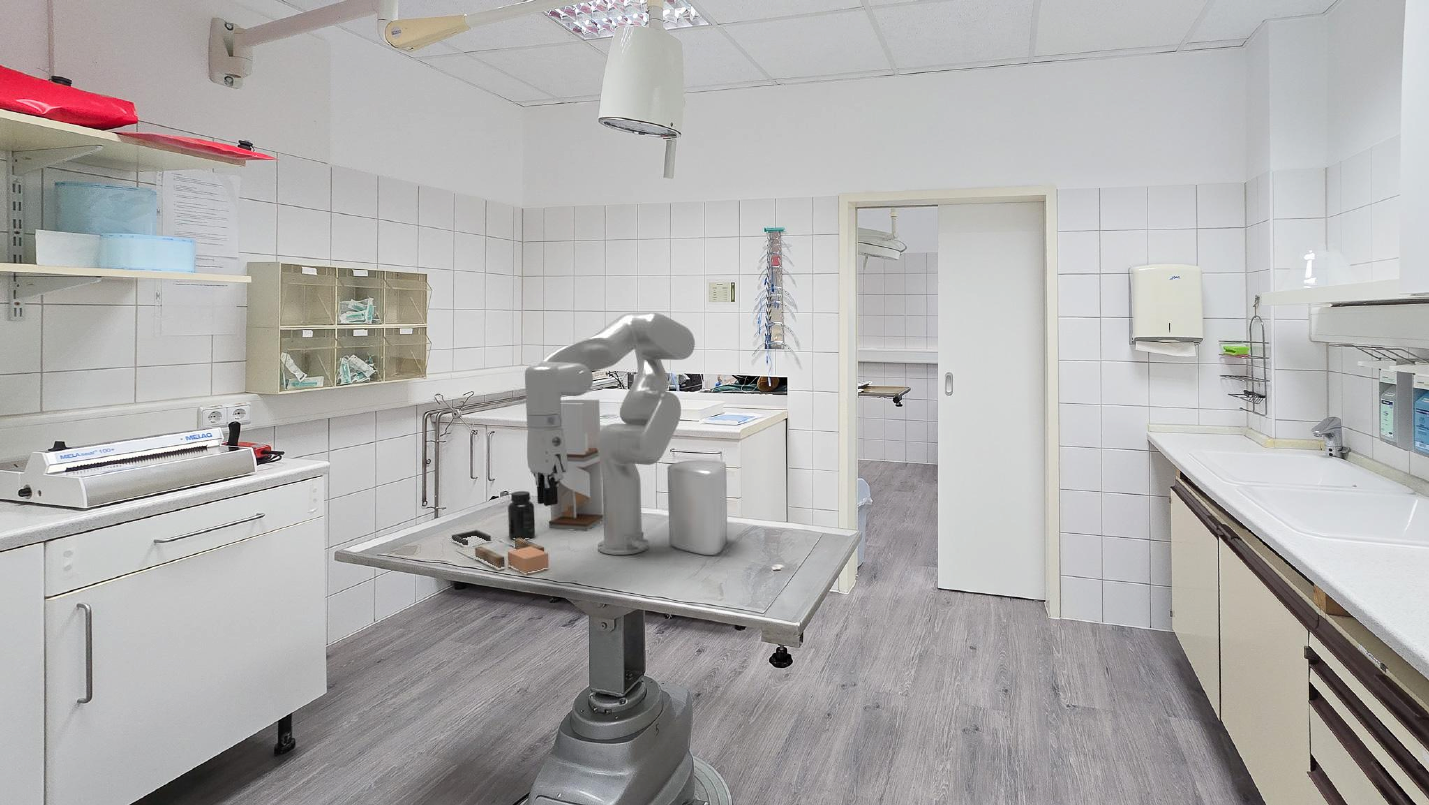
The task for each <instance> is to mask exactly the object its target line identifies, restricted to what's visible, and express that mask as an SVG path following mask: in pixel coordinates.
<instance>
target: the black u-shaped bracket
mask: <svg viewBox="0 0 1429 805" xmlns="http://www.w3.org/2000/svg"><path fill="white" fill-rule="evenodd" d="M471 536H477V537H479V538H482V539H484V540H486V541H491V542H492V538H491V537H492V536H491V535H489V534H487V533H485V532H483V531H481V530H478V529H475V530H472V531H471V530H470V531H465V532H461V533H456V534H451V540H452V539H453V540H454V541H457V542H459V543H462V544H463V545H468V540H466V539H463V538H467V537H471Z"/></svg>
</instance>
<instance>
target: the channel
mask: <svg viewBox="0 0 1429 805" xmlns="http://www.w3.org/2000/svg"><path fill="white" fill-rule="evenodd" d="M513 540H514V541H513V542H514V545H515V548H514V550H515V549H516V550H517V549H522V548H526V547H530V546H531V547H533V548H536V549H538V550H541V551H543V552H545V547H544V546H541V545H539V544H537V543H534V542H531V541H529V540H528V539H526V540H524V539H522V538H516V539H513ZM474 551H475V552H474V554H475V555H474V557H475V556H476V557H478V558H480V559H483V560H484V561H487V562H488V563H490V564H492V565H494V566H496V567H498V568H501V567H505V566H506V564H505V556H503V555H501V554H500V553H499V554H498V553H497V552H495V551H492V550H490V549H488V548H485V547H483V546H482V545H479V546H477V547H476V546H475V547H474ZM505 568H506V567H505Z"/></svg>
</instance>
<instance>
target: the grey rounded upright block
mask: <svg viewBox="0 0 1429 805" xmlns="http://www.w3.org/2000/svg"><path fill="white" fill-rule="evenodd" d="M727 489H728V488H727V464H726V461H725V462H724V461H720V460H719V461H718V460H704V459H695V460H694V459H693V460H683V461H678V462H674V463H671V464H669V465H668V466H667V498H668V499H667V502H668V508H667V509H668V540H669V542H668V544H669V545H670V546H672V547H674V548H676V549H677V550H682V551H686V552H690V553H694V554H699V555H700V554H701V555H704V556H706V555H707V556H715V555H718V554H719V553H720V552H722V550H723V548H724V547H725V545H726V544H727V542H728V498H727V497H728V496H727V492H728V490H727Z"/></svg>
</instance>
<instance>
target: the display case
mask: <svg viewBox="0 0 1429 805" xmlns="http://www.w3.org/2000/svg"><path fill="white" fill-rule="evenodd" d="M561 414H562V429H563V432H564V437H565V443H566V452H567V464H568V469H567V471H566V472H564V473H563V472H562V473H563V479H562V480H560V481H559V482H558V487H557V494H558V503H557V504H555V505H550V520H549V521H548V529H549V528H555V529H554V530H564V529H574V530H573V531H578V530H581V532H588V531H589V530H591V529H592V527H593V528H595V527H596V526H598V525H600V524H601V523H603V522H604V520H603V489H602V470H601V463H600V458H599V454H598V450H597V437H598V434H599V432H600V431H601V416H600V414H601V413H600V399H592V398H591V399H590V398H589V399H584V398H583V399H582V398H578V399H577V398H576V399H575V398H561ZM553 472H554V470H553V471H552V473H553ZM551 477H553V476H551ZM551 477H549V480H550V478H551ZM602 521H603V522H602ZM600 522H601V523H600ZM597 524H598V525H597ZM588 529H589V530H588ZM587 530H588V531H587Z"/></svg>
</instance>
